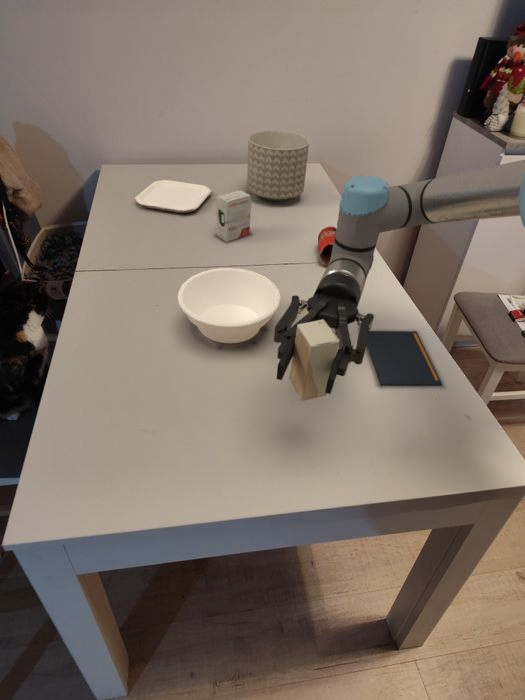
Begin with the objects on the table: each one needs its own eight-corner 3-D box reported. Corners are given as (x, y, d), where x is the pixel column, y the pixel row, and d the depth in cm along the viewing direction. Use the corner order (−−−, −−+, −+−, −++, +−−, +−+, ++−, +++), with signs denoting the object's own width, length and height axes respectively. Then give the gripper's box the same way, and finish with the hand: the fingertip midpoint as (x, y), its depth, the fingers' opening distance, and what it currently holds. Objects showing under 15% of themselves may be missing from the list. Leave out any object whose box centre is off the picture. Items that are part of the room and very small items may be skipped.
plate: (193, 218, 135) (193, 211, 133) (130, 208, 137) (129, 201, 136) (215, 193, 150) (214, 186, 148) (157, 184, 153) (157, 178, 151)
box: (288, 378, 69) (295, 322, 62) (313, 373, 70) (323, 317, 63) (302, 403, 65) (311, 346, 58) (328, 396, 67) (340, 340, 59)
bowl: (226, 373, 85) (226, 340, 80) (160, 323, 96) (156, 291, 90) (297, 327, 97) (301, 296, 92) (231, 287, 108) (232, 257, 102)
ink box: (240, 228, 131) (241, 188, 124) (250, 234, 129) (252, 194, 121) (216, 235, 127) (215, 195, 119) (226, 242, 124) (226, 201, 117)
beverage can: (339, 246, 126) (343, 224, 122) (344, 268, 117) (348, 245, 113) (314, 245, 126) (317, 223, 122) (317, 267, 117) (320, 244, 113)
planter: (257, 210, 141) (259, 150, 129) (239, 187, 155) (240, 131, 143) (311, 205, 147) (319, 147, 135) (290, 183, 160) (295, 129, 148)
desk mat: (441, 385, 86) (442, 383, 86) (380, 385, 85) (381, 383, 85) (415, 333, 98) (416, 331, 98) (362, 332, 97) (362, 330, 97)
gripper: (390, 322, 77) (369, 418, 60) (284, 296, 81) (237, 379, 64) (401, 285, 72) (381, 379, 55) (288, 260, 76) (238, 340, 59)
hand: (304, 379), depth 60 cm, fingers closed on box, 6 cm apart
